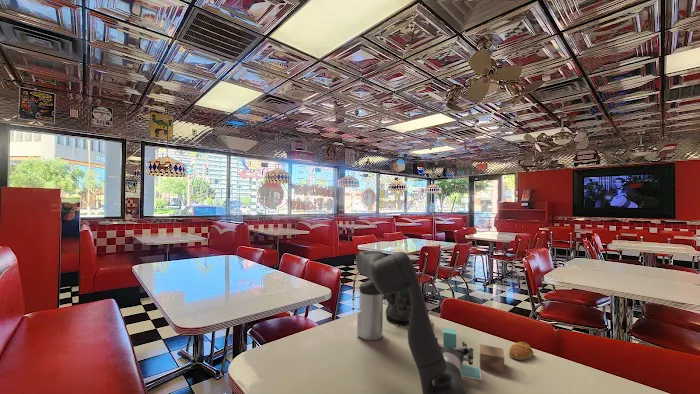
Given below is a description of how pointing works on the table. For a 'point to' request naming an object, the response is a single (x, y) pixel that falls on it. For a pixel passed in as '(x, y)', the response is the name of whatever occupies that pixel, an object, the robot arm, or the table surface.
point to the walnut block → (491, 358)
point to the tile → (471, 372)
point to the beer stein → (399, 307)
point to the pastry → (521, 351)
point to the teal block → (449, 338)
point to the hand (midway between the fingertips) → (449, 342)
